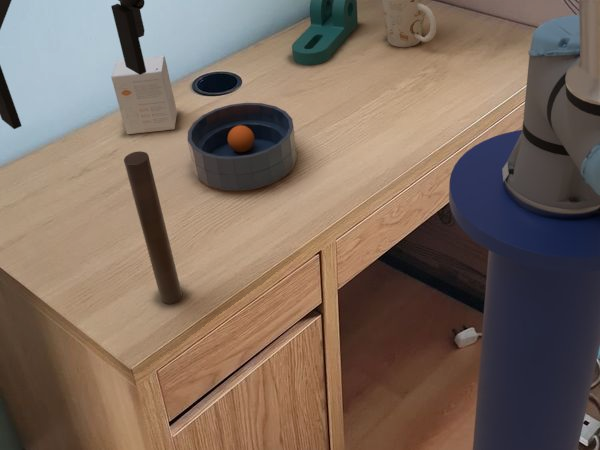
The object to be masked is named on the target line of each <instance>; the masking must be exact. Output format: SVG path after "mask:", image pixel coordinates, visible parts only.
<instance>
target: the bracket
mask: <svg viewBox="0 0 600 450" xmlns="http://www.w3.org/2000/svg"><path fill="white" fill-rule="evenodd" d="M358 18H359V17H358V0H310V3H309V19H310V20H309V21H310V25H309V26H308V27H307V28H306V29H305V30H304V32H302V34H300V36H299V37H297V39H296V40H295V41H293V43H292V44H291V52H292V60H293V61H294V63H296V64H299V65H302V66H316V65H319V64H322V63H325V62H326V61H328V60H329V59H330V58H331V56H333V54H335V52H336V51H337V50H338V49H339V47H340V46H341V45H342V44H343V43H344V41H345V40H346V39H347V38H348V37H349V36H350V34H351V33H352V32H353V31H354V30H355V29H356V28H357V27H358V25H359V22H358V21H359V20H358Z"/></svg>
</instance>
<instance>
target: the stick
mask: <svg viewBox="0 0 600 450" xmlns="http://www.w3.org/2000/svg"><path fill="white" fill-rule="evenodd" d="M123 163H124V166H125V171H126V175H127V178H128V181H129V187H130V189H131V193H132V196H133V200H134V204H135V208H136V211H137V215H138V219H139V222H140V227H141V231H142V234H143V237H144V242H145V245H146V250H147V253H148V257H149V260H150V264H151V268H152V271H153V276H154V279H155V283H156V286H157V290H158V294H159V298H160V301H161V302H162V303H164V304H165V305H166V304H167V305H171V304H175V303H177V302H179V301H180V300H181V299H182V296H183V292H182V288H181V284H180V280H179V276H178V272H177V267H176V264H175V258H174V256H173V252H172V251H173V250H172V247H171V242H170V238H169V235H168V230H167V225H166V222H165V218H164V214H163V210H162V209H163V208H162V206H161V201H160V197H159V194H158V189H157V185H156V181H155V177H154V172H153V169H152V165H151V161H150V157H149V153H147V152H146V151H142V150H141V151H133V152H130V153H128V154H127V155H125V156H124V158H123Z"/></svg>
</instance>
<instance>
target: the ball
mask: <svg viewBox="0 0 600 450" xmlns="http://www.w3.org/2000/svg"><path fill="white" fill-rule="evenodd" d="M228 144H229V146H230V147H231V148H232V149H233V150H234V151H236V152H246V151H248V150H250V149H251V148H252V146H253V144H254V134H253V132H252V131H251V130H250V129H249V128H248V127H246V126H241V125H240V126H236V127H234V128H232V129H231V131H230V132H229V134H228Z"/></svg>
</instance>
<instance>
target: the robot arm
mask: <svg viewBox="0 0 600 450" xmlns="http://www.w3.org/2000/svg"><path fill="white" fill-rule="evenodd" d="M117 1H119V3H115V4H112V5H111V6H110V8H111V12H112V15H113V20H114V25H115V28H116V32H117V36H118V39H119V44H120V48H121V52H122V57H123V60H124V61H125V65H126V67H127V68H129V69H131V70H132V71H134V72H136V73H138V74H139V75H141V74H143V73H145V72H146V68H145V64H144V59H143V58H144V56H143V50H142V46H141V42H140V38H141V37H144V36H145V26H144V22H143V17H142V13H141V10H142V9H143V8H144V6H145V0H117ZM11 3H12V0H0V30H1V29H2V26H3V24H4V21H5V19H6V17H7V13H8V12H9V8H10V5H11ZM531 38H532V39H531V42H530V48H529V50H528V52H527V53H528V54H527V55H528V64H527V65H528V67H527V77H526V87H525V97H524V98H525V99H524V109H523V119H522V120H523V121H522V129H521V130H522V133H521V135H520V137H519V139H518V141H517V143H516V145H515V147H514V149H513V151H512V153H511V155H510V157H509V159H508V161H507V163H506V164H505V166H504V167H503V169H502V172H503V187H504V190H505V192H506V194H507V195H508V197H509V198H510V199H511V200H512V201H513V202H514V203H515V204H517V205H518V206H520V207H521V208H523V209H525V210H527V211H529V212H531V213H534V214H536V215H539V216H543V217H547V218H552V219H559V220H583V219H589V218H594V217H597V216H600V0H578V14H572V15H566V16H565V15H564V16H559V17H555V18H552V19H549V20H547V21H545V22H543V23H541V24H540V25H538V26H537V28H536V29H535V30H534V32H533V33H532V37H531ZM0 118H1V120H2V121H3V122H4V123H5V124H7V125H8V126H9V127H10V128H11V129H13V130H16V129H18V128H20V127H21V128H22V126H23V125H22V122H21V120H20V117H19V114H18V111H17V108H16V106H15V103H14V100H13V97H12V94H11V92H10V89H9V86H8V83H7V80H6V77H5V73H4V72H3V68H2V65H0Z"/></svg>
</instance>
